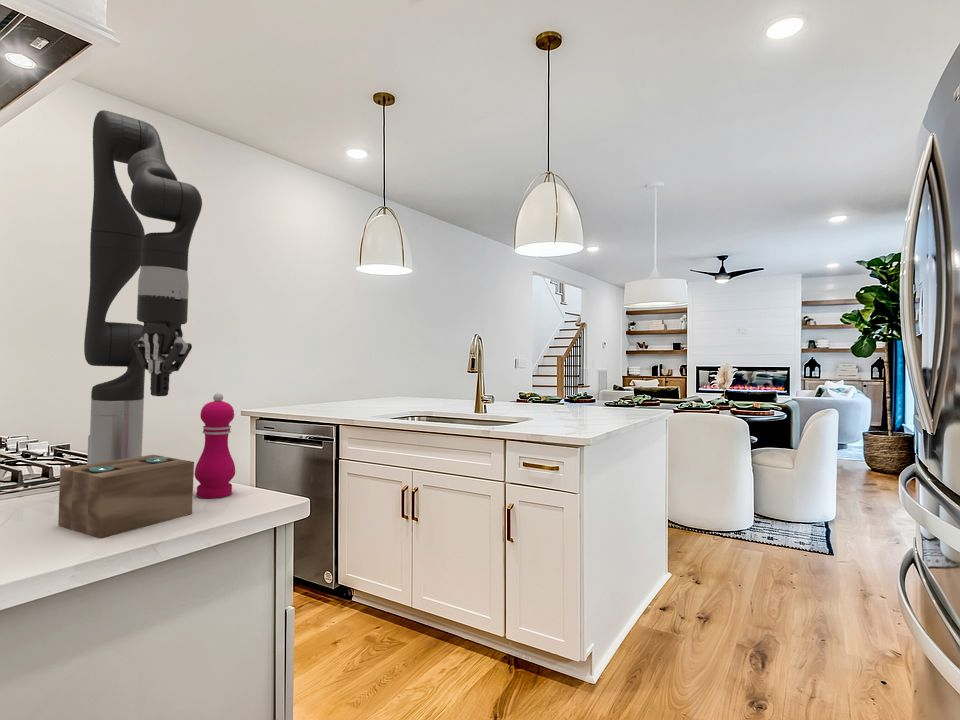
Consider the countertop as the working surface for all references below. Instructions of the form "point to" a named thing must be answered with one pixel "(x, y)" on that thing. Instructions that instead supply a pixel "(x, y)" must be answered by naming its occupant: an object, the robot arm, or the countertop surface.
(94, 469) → the front peg
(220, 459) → the pepper mill
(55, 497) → the countertop surface
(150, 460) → the rear peg
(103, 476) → the walnut block
